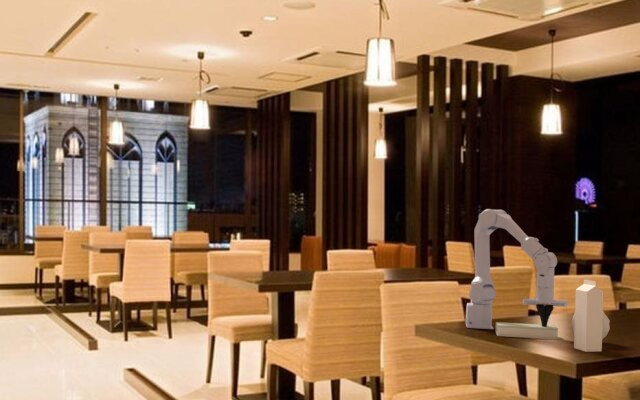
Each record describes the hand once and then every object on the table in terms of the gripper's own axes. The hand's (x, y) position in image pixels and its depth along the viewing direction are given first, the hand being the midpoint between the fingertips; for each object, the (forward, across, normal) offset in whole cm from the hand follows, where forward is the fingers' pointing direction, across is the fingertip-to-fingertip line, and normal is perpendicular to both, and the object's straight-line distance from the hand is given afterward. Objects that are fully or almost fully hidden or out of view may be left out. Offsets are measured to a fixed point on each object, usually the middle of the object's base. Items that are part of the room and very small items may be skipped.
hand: (544, 326), depth 252 cm
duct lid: (+1, -6, 0) cm, 6 cm away
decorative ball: (+4, +14, -6) cm, 16 cm away
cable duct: (+4, -6, 0) cm, 7 cm away
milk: (+4, +10, -21) cm, 24 cm away
